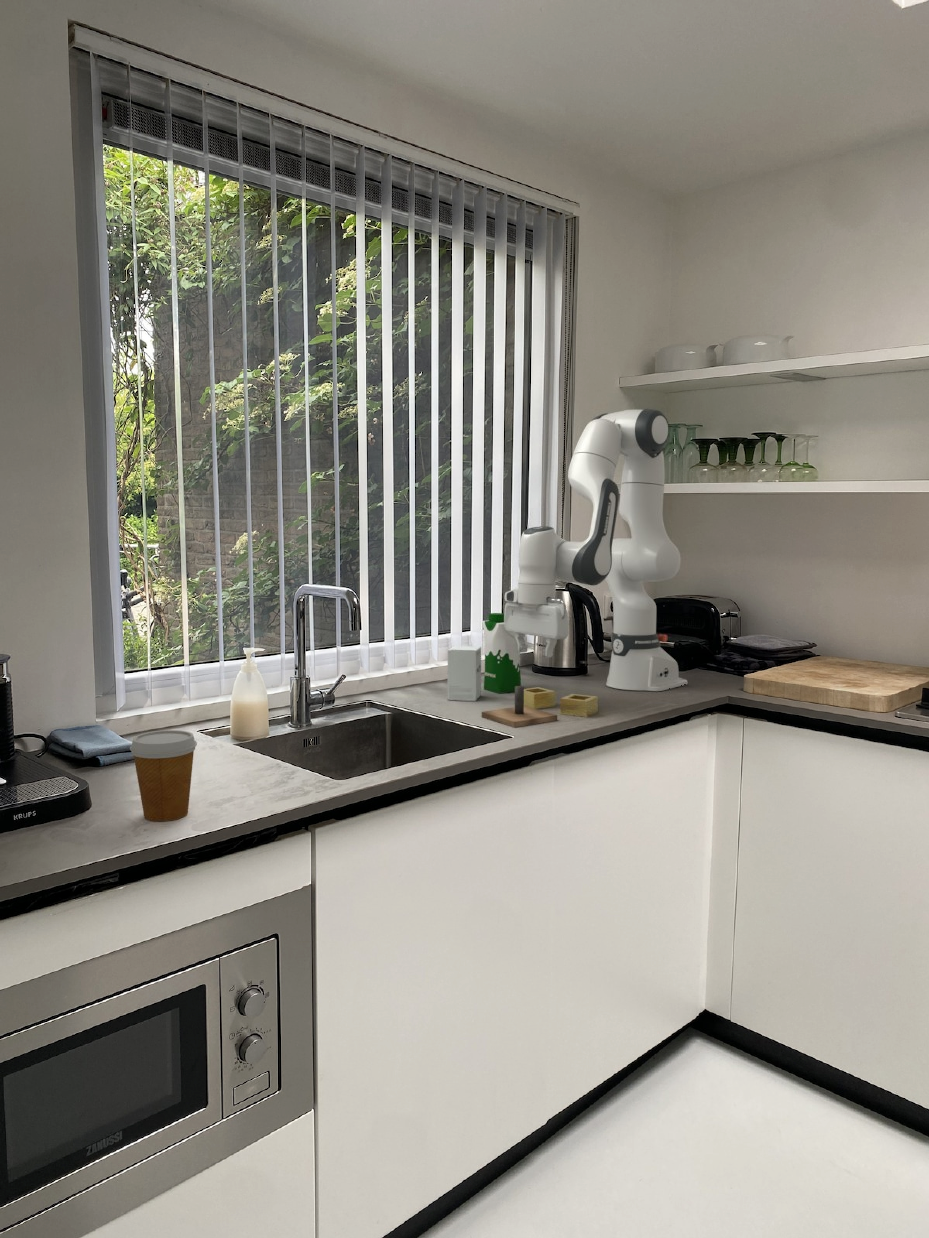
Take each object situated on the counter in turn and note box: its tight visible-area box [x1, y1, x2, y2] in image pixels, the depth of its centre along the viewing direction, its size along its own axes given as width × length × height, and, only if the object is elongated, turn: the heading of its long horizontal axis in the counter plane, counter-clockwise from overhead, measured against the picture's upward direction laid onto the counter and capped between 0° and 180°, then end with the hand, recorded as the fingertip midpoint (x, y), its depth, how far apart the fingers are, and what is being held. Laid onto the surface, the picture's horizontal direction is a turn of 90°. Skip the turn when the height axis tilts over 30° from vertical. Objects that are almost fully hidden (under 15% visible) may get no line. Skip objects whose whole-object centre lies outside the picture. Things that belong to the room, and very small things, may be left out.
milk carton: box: [481, 612, 522, 694], centre depth 234 cm, size 9×9×20 cm
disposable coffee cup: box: [129, 729, 198, 822], centre depth 136 cm, size 10×10×12 cm
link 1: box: [524, 686, 556, 710], centre depth 215 cm, size 6×6×4 cm
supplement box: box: [446, 645, 482, 702], centre depth 224 cm, size 7×7×13 cm
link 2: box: [560, 693, 599, 718], centre depth 207 cm, size 6×6×4 cm
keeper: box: [481, 685, 558, 728], centre depth 201 cm, size 12×12×7 cm
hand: (535, 654), depth 214 cm, fingers open, 8 cm apart
